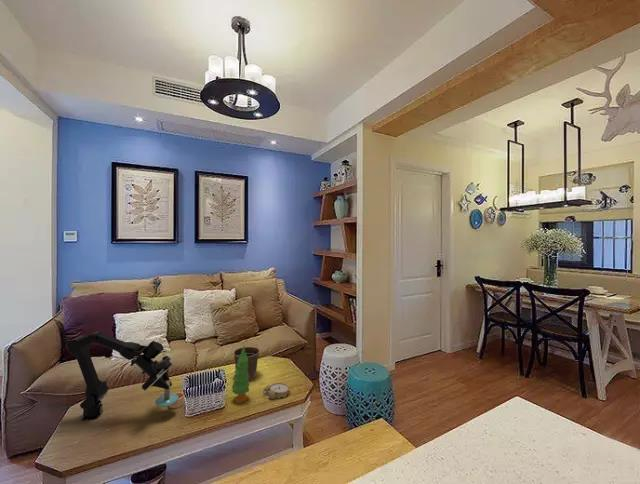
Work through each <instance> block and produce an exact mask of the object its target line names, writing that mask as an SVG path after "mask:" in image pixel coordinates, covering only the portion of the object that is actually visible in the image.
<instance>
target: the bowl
mask: <svg viewBox="0 0 640 484" xmlns="http://www.w3.org/2000/svg"><path fill="white" fill-rule="evenodd" d="M183 393H184V392H182V391H181V392H174V394H177V395H178V400H177V401H176V402H175V403H174V404H172V405H169V406H168V407H169V408H170V409H174V410H175V409H179V408H182V406H183V405H185V401H184V395H183Z"/></svg>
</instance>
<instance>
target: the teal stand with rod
mask: <svg viewBox="0 0 640 484" xmlns="http://www.w3.org/2000/svg"><path fill="white" fill-rule="evenodd" d="M170 381H171V379H170V380H166V381H165V382H166V384H167V385H168V386H169V389H164V388H163V390H164V391H163V394H162V395H160V396H159V397H157V398H156V399H155V400H154V401H155V402H154V404H155V406H157V407H160V408H161V407H164V408H165V407H169V405H172V404H174V403H175V402H176V401H177V400H178V395H177V394H174V393H175V392H174V393H171V386H170Z"/></svg>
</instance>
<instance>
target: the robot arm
mask: <svg viewBox="0 0 640 484" xmlns="http://www.w3.org/2000/svg"><path fill="white" fill-rule="evenodd" d="M92 343H95V344H97V345H100V346H103V347H105V348H107V349H110V350H113V351H116V352H118V353H119V356H120V357H123V358H124V359H125V360H130V367H133V366H134V365H136V366H138V368H139V369H140V370H142V372H141V374H142V375H144V374H146V376H148V378H147V380H146V381H145V382H144V383H143V384H141V389H142V390H143V391H146V390H147V389H148V388H149V387H151V388H152V387H153V388H154V387H156V388H160V389H163V390H164V389H169V386H168V385H167V384H166V382H165V381H166V380H170V387H172V386H173V383H172V381H171V379H170V377H169V371H170V369H169V368H170V367H171V366H173V363H172V362H171V357H169V356H168V355H164V356H163V357H162V359H161V360H160V361H158V360H153V359H155V358H157V356H159V354H160V353H162V352H163V351H164V345H163V344H162V343H161V342H158V341H155V340H152V341H151V342H150V343H149V344H148V345H143V344H140V343H138V342H135V341H134V342H133V341H123V340H121V339H119V338H115V337H113V336H110V335H108V334H106V333H103V331H100V330H99V331H96V332H94V333H91V334H88V335H84V334H82V335H80V336H78V337H75V338H73V339H70V340H69V341H68V342H67V344H66V349H67V351H68V352H69V354H70V355H71V356H73V357H74V358H75V359H76V361H77V363H78V366H79V369H80V371H81V375H82V378H83V380H84V382H85V385H86V388H85V391H84V395H85V399H84V400H83V401H82V402H81V403H80V404H79V407H80V408H81V409H83V411H82V412H83V413H82V415H83V416H82V418H81V420H80V421H87V420H88V421H90V420H97V419H98V418H99V417H100V416H101V414H102V413H103V412H104V407H103V405H104V404H103V403H102V400H103V399H104V397H105V396H106V395H107V393H108V391H109V390H108V389H109V386H108V385H107V382H106V380H104V381H102V380H100V378H99V376H98V373H97V370H96V367H95V365H94V363H93V360H92V357H91V355H90V350H91V344H92Z"/></svg>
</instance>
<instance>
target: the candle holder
mask: <svg viewBox="0 0 640 484" xmlns="http://www.w3.org/2000/svg"><path fill="white" fill-rule="evenodd" d="M268 391H269V392H268ZM291 391H292V390H290V386H289V385H288V384H286V383H285V382H284V383H282V382H275V383H272V384H268V385H266V386H265V388H264V389H263V391H262V394H263V395H264V396H266V397H268V398H269V399H270V398H271V399H270V400H274V399H280V398H279V397H284V396H286V395H287V394H288V393H291ZM288 395H289V394H288ZM286 397H287V396H286ZM284 398H285V397H284Z"/></svg>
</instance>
